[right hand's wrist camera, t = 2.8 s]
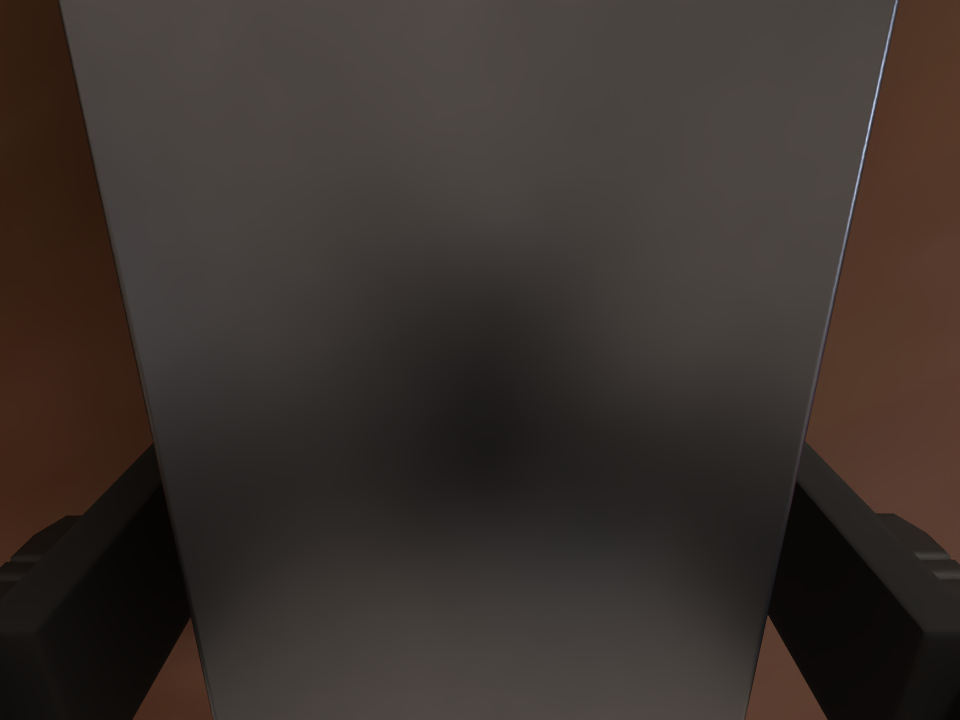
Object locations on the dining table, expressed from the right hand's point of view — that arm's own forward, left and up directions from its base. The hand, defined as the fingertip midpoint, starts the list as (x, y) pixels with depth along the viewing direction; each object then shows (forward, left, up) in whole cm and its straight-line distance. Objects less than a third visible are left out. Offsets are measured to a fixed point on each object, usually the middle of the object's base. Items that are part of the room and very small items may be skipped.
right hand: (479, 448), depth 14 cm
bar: (+12, 0, -1) cm, 12 cm away
